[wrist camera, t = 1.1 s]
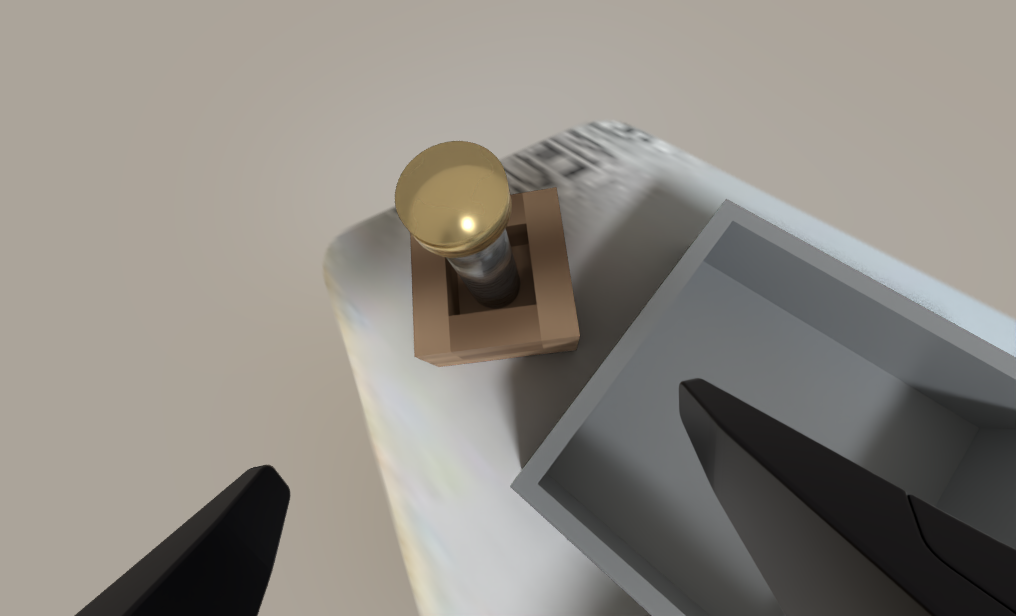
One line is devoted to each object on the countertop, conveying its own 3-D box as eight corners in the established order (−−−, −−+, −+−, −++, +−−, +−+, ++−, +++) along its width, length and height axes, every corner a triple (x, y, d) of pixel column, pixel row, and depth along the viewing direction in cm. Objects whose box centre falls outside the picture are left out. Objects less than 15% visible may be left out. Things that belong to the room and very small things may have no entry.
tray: (993, 425, 18) (1145, 428, 14) (818, 733, 16) (926, 865, 11) (691, 244, 23) (726, 198, 18) (521, 470, 20) (509, 486, 16)
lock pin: (533, 312, 21) (513, 232, 12) (465, 321, 22) (396, 251, 12) (525, 249, 22) (501, 132, 13) (461, 258, 23) (394, 151, 13)
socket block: (576, 350, 22) (580, 335, 18) (439, 366, 23) (414, 356, 19) (556, 223, 24) (556, 187, 20) (432, 242, 25) (409, 211, 21)
